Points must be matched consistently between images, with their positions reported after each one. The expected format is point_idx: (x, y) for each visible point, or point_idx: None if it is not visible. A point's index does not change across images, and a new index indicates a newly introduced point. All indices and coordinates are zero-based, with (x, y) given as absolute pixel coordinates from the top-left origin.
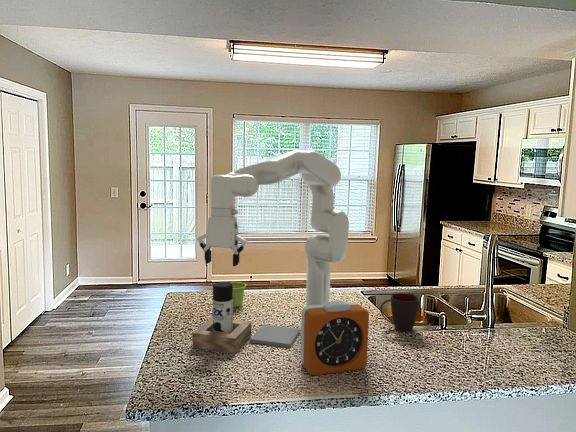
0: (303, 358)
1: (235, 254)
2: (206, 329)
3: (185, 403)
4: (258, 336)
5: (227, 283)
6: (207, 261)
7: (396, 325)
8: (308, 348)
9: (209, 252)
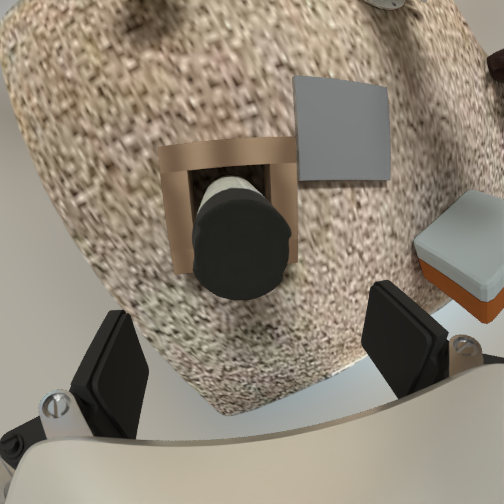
0: (424, 261)
1: (421, 387)
2: None
3: (279, 394)
4: (314, 158)
5: (260, 229)
6: (145, 382)
7: (497, 76)
8: (446, 292)
9: (119, 413)
